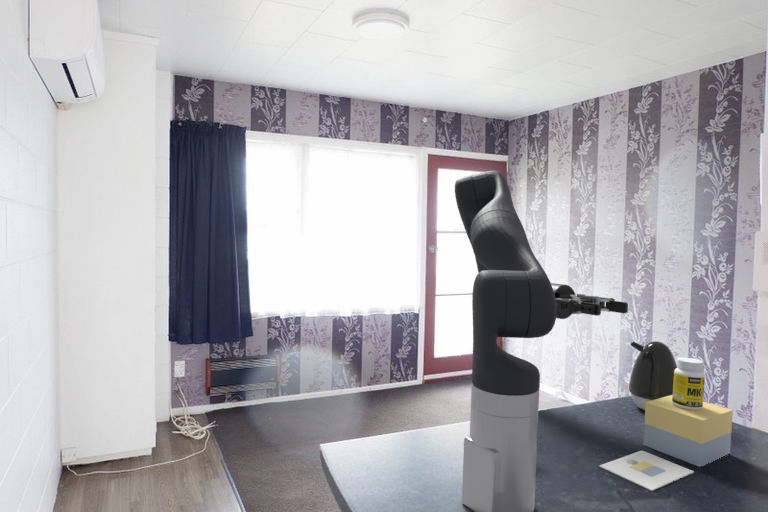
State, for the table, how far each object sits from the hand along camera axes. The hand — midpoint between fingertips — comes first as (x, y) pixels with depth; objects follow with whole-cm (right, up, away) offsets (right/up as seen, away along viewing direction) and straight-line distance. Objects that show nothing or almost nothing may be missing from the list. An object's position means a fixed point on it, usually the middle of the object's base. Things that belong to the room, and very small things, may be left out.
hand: (613, 309), depth 102 cm
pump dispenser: (+14, -24, +12) cm, 30 cm away
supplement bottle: (+9, -17, -9) cm, 21 cm away
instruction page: (-2, -25, -17) cm, 30 cm away
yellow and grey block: (+9, -25, -9) cm, 27 cm away
